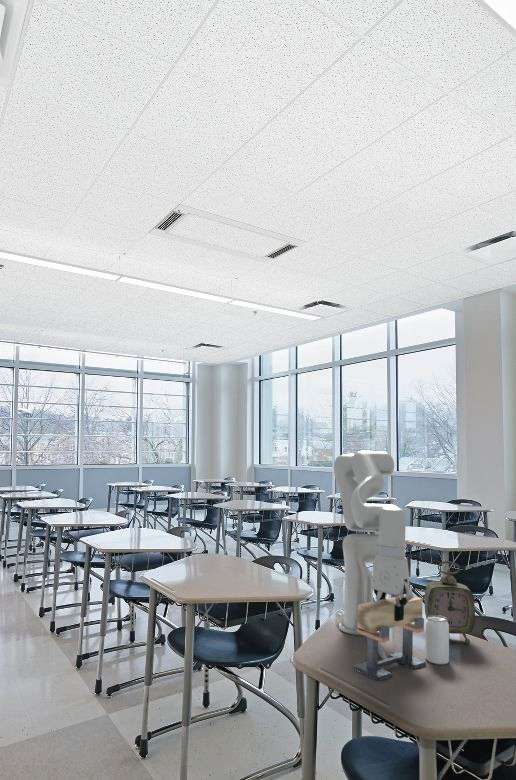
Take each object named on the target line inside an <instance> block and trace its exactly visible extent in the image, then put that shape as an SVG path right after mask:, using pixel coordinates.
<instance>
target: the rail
mask: <svg viewBox="0 0 516 780" xmlns="http://www.w3.org/2000/svg"><path fill="white" fill-rule="evenodd" d="M404 596H406V594H404ZM399 597H400V596H399ZM400 600H401V599H400ZM423 601H424V600H423V598H421V597H419V596H415V595H414V598H412V599H411V600H409V601H408V602H407V603H406V605H405V606H404V619H403V620H400V621H395V606H397V605H396V600H395V596H394V597H389V598H386V599H383V600H375V601H373V602H368V603H363V604H358V615H357V627H358V628H360V629H363V630H365V631H368V632H370V633H372V632H376V631H377V632H379V628H380V627H384V626H388V627H390V629H392V628H395V627H399V626H400V625H404V624H408V623H412V624H413V623H414V620H415V619H417V618H423V603H424V602H423Z"/></svg>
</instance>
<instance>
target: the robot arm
mask: <svg viewBox="0 0 516 780" xmlns="http://www.w3.org/2000/svg"><path fill="white" fill-rule="evenodd" d="M394 471H395V461H394V459H393V456H392V455H391V454H390V453H389V452H386V451H378V450H377V451H376V450H359V451H357V452H354V453H345V454H341V455H338V456H337V457H336V458H335V460H334V463H333V472H334V473H333V474H334V478H335V482H336V485H337V486H338V489H339V492H340V494H341V495H340V496H341V503H342V515H343V520H344V525H345V528H347V529H346V530H349V531H352V532H370V533H350V534H348V535H346V536H345V537H343V541H342V552H343V553H342V554H343V560H344V561H343V562H344V593H343V594H344V599H343V600H344V601H343V610H342V609H341V610H339V612H337V614H336V617H337V618H339V619H341V622H339V623H338V624H339V625H338V627H339V630H340V631H341V632H344V633H346V634H349V635H353V636H354V635H355V636H363V635H362V634H359V633H357V615H358V604H363V603H368V602H373V599H374V597H373V595H374V594H375V597H376V601H378V600H383V599H387V595H390V596H394V597H395V600H396V605H397V606H395V621H400V620H403V619H404V606H405V605H406V603H407V602H408V601H409V600H411V599H412V598H414V596H415V595H414V594H413V592H412V590H411V588H410V573H409V572H410V571H409V565H408V559H407V558H406V525H407V524H406V523H407V522H406V519H407V518H406V511H405V510H404V509H403V508H401V507H400V506H397V505H396V504H389V503H388V504H387V503H368V502H367V500H368V499H370V498H373V497H375V496H377V495H379V494H380V493H381V492H382V491H383V490H384V487H385V485H386V484H385V483H386V482H385V479H384V478H388V477H390V476H391V475H393V473H394ZM371 532H372V533H371ZM369 563H372V564H373V568H372V572H371V570H370V569H369V568H368V566H367V564H369ZM404 595H406V596H404ZM399 596H400V597H399ZM400 599H401V600H400ZM376 632H378V631H376Z"/></svg>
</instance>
